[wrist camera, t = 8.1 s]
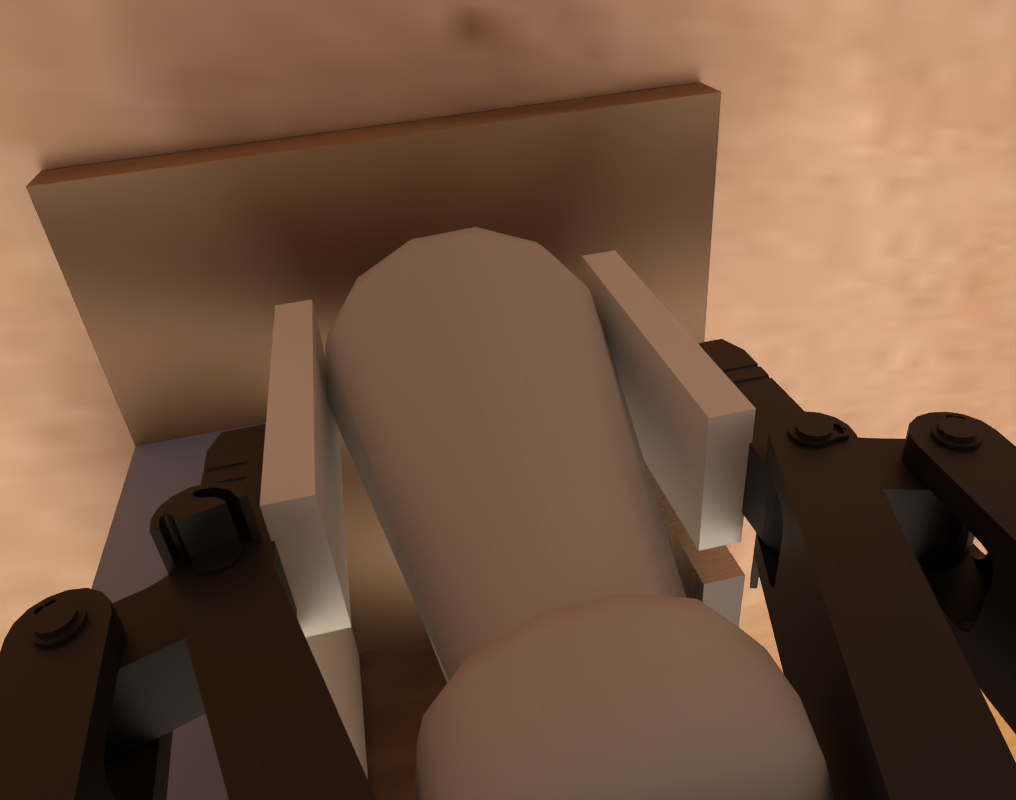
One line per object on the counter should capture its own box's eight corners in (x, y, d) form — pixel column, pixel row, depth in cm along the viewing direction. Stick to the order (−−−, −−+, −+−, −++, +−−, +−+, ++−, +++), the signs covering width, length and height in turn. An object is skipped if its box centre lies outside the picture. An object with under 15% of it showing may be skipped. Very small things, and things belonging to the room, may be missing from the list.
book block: (135, 446, 21) (3, 868, 12) (294, 417, 21) (286, 798, 12) (235, 682, 26) (198, 1096, 17) (359, 653, 27) (388, 1040, 18)
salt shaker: (600, 368, 20) (954, 926, 9) (390, 458, 20) (490, 1119, 9) (525, 149, 16) (941, 613, 6) (273, 258, 16) (211, 922, 6)
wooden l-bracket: (41, 170, 18) (-191, 409, 10) (700, 82, 20) (984, 212, 12) (246, 675, 28) (221, 1011, 19) (674, 579, 30) (818, 843, 22)
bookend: (606, 417, 24) (703, 584, 18) (706, 398, 24) (833, 555, 18) (608, 597, 28) (687, 778, 22) (693, 578, 28) (792, 751, 23)
